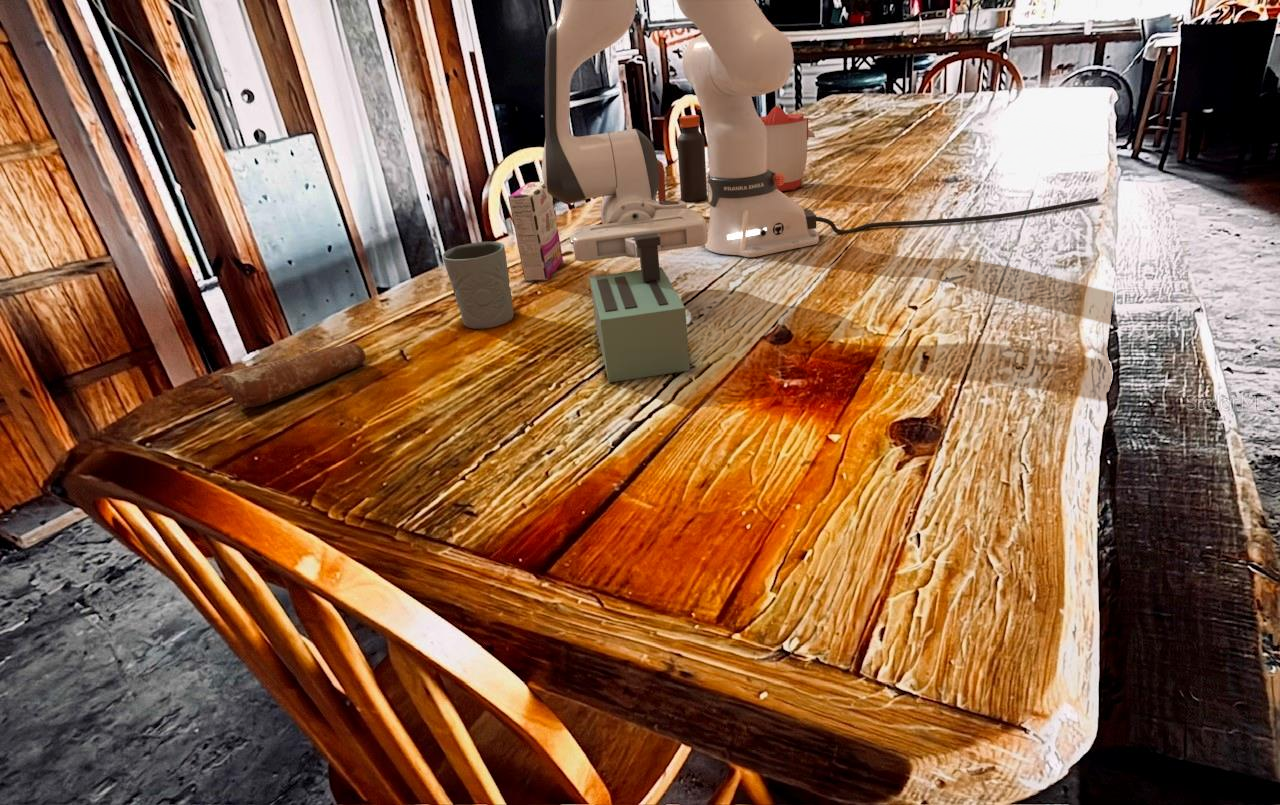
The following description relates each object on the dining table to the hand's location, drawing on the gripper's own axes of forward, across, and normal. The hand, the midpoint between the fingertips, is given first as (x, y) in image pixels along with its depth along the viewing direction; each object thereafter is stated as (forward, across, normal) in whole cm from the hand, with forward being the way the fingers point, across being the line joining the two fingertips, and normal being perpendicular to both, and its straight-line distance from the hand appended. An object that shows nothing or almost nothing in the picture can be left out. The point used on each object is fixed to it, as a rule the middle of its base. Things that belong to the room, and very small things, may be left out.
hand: (646, 251), depth 100 cm
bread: (-1, -52, +13) cm, 54 cm away
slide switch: (+1, 0, +4) cm, 4 cm away
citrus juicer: (-85, +47, +13) cm, 98 cm away
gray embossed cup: (-18, -26, +13) cm, 34 cm away
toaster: (+4, -3, +13) cm, 14 cm away
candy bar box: (-40, -16, +13) cm, 45 cm away
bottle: (-85, +24, +13) cm, 89 cm away
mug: (-74, +8, +13) cm, 75 cm away
